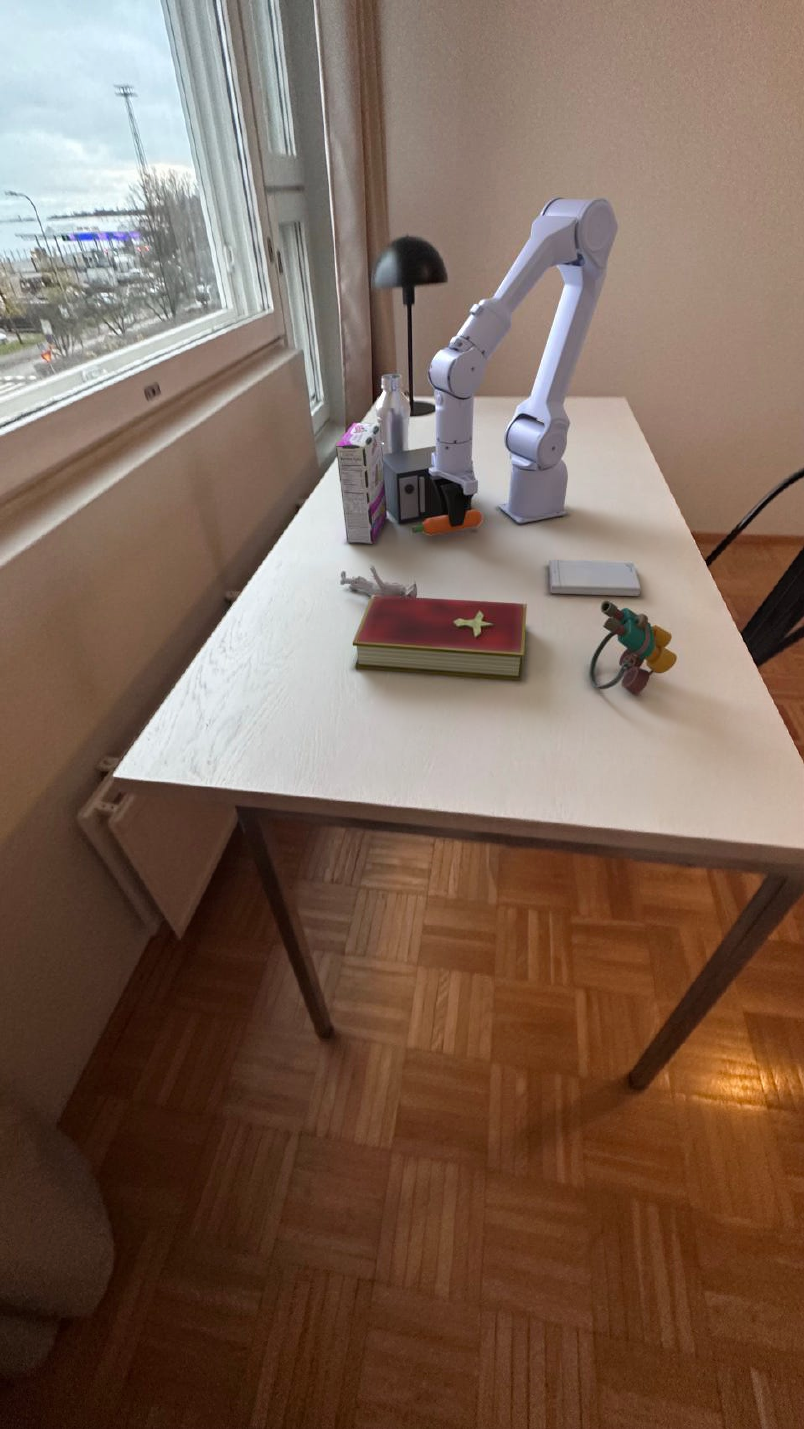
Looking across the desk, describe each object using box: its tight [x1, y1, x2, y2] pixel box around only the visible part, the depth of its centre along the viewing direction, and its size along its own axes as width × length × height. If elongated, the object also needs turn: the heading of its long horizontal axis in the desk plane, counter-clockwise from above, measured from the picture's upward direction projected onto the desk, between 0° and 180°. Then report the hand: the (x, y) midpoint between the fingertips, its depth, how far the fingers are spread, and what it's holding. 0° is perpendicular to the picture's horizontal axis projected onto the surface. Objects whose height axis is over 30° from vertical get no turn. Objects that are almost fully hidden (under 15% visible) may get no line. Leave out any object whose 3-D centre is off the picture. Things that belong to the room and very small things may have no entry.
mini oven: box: [383, 445, 474, 525], centre depth 114 cm, size 11×14×9 cm
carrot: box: [411, 509, 483, 536], centre depth 107 cm, size 12×3×3 cm, turn 109°
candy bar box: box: [335, 422, 388, 545], centre depth 106 cm, size 11×5×16 cm, turn 168°
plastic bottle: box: [375, 373, 411, 454], centre depth 119 cm, size 6×7×20 cm
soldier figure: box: [339, 564, 418, 598], centre depth 92 cm, size 8×5×12 cm
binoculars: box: [589, 600, 678, 695], centre depth 74 cm, size 9×9×10 cm
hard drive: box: [548, 559, 641, 597], centre depth 94 cm, size 2×8×12 cm
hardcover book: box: [352, 595, 528, 682], centre depth 82 cm, size 12×21×4 cm, turn 80°
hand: (452, 521), depth 107 cm, fingers closed on carrot, 3 cm apart
